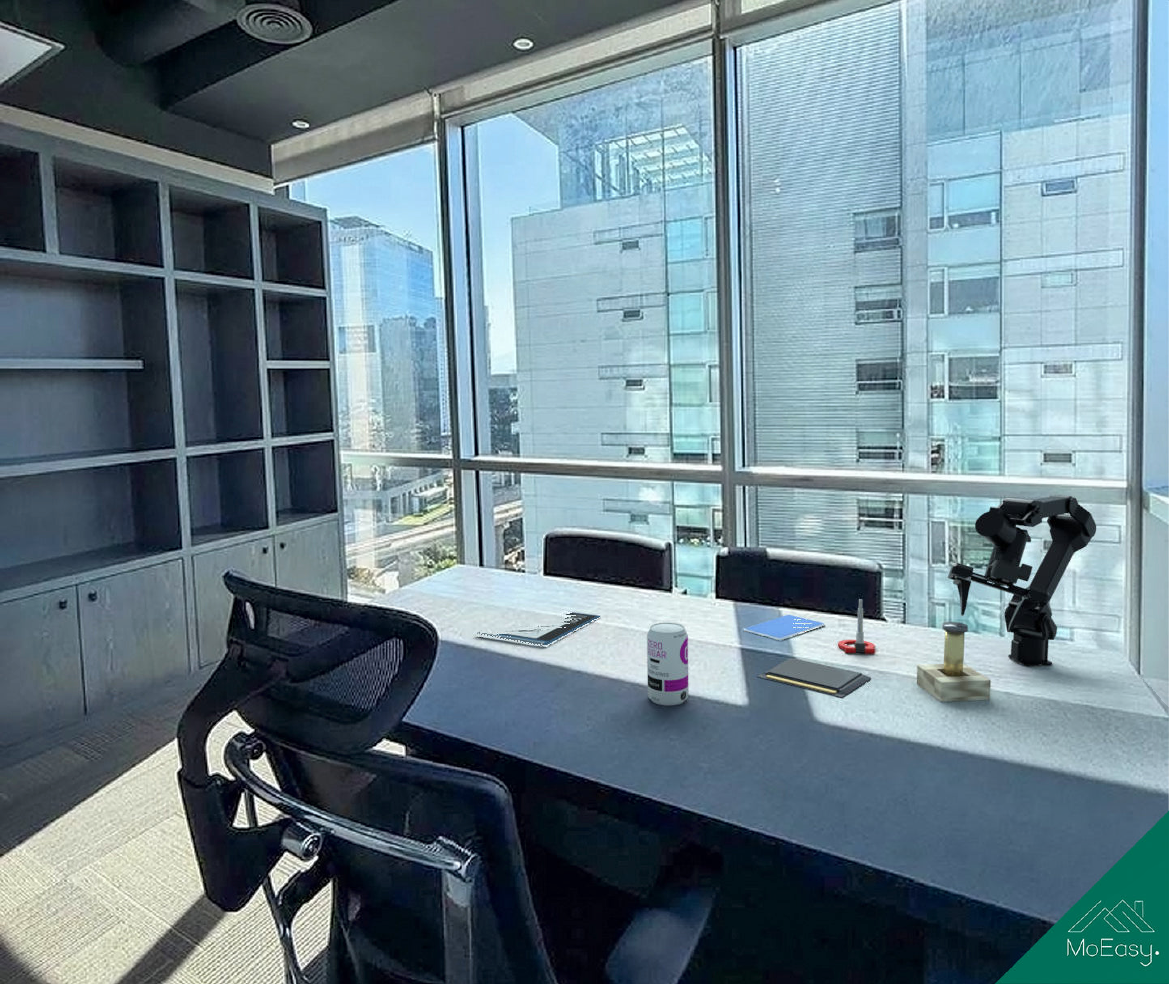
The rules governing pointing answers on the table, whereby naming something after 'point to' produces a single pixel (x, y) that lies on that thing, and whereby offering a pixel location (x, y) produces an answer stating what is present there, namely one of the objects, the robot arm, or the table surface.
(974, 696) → the socket block
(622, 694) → the table surface
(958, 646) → the brass pin
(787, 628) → the tablet computer
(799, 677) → the dark gray book
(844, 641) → the tow hook
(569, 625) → the sketchbook
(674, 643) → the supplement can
